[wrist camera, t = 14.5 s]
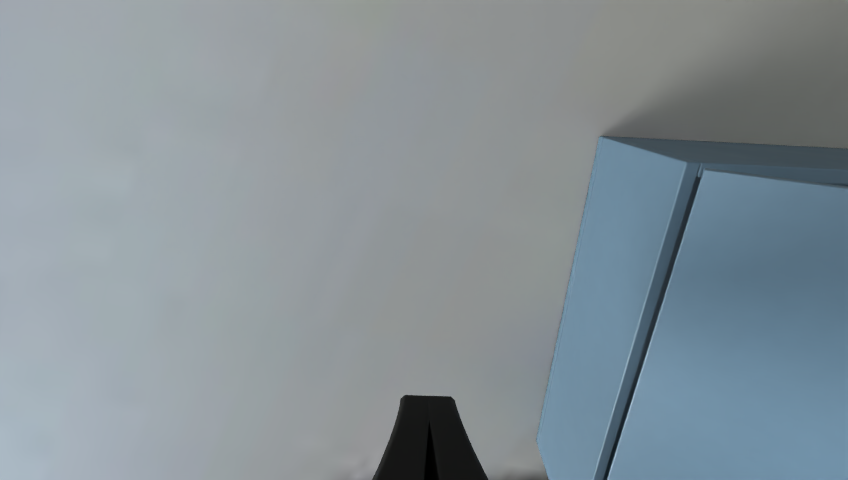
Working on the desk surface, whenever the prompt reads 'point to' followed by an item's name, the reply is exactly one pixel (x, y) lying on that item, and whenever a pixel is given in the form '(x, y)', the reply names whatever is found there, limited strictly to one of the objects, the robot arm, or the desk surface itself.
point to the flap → (748, 340)
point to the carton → (635, 280)
